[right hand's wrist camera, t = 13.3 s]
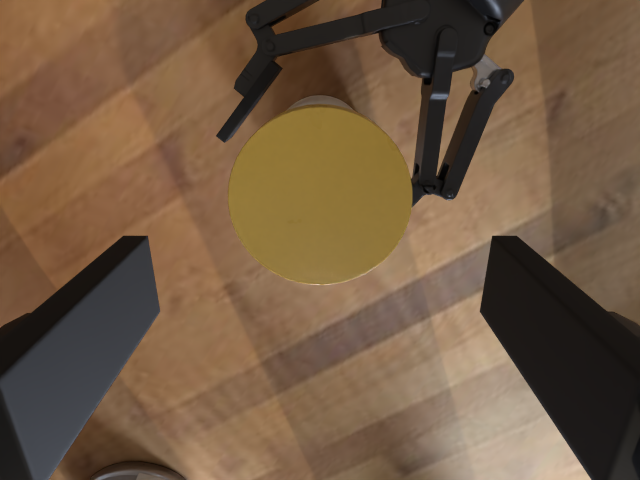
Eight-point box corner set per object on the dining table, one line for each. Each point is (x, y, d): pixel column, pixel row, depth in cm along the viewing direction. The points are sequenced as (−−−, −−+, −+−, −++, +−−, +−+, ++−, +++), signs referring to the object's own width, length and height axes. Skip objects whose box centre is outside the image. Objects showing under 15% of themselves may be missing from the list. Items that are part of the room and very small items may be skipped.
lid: (384, 80, 20) (391, 81, 19) (419, 246, 24) (427, 261, 22) (209, 132, 21) (199, 138, 20) (266, 285, 25) (262, 302, 23)
